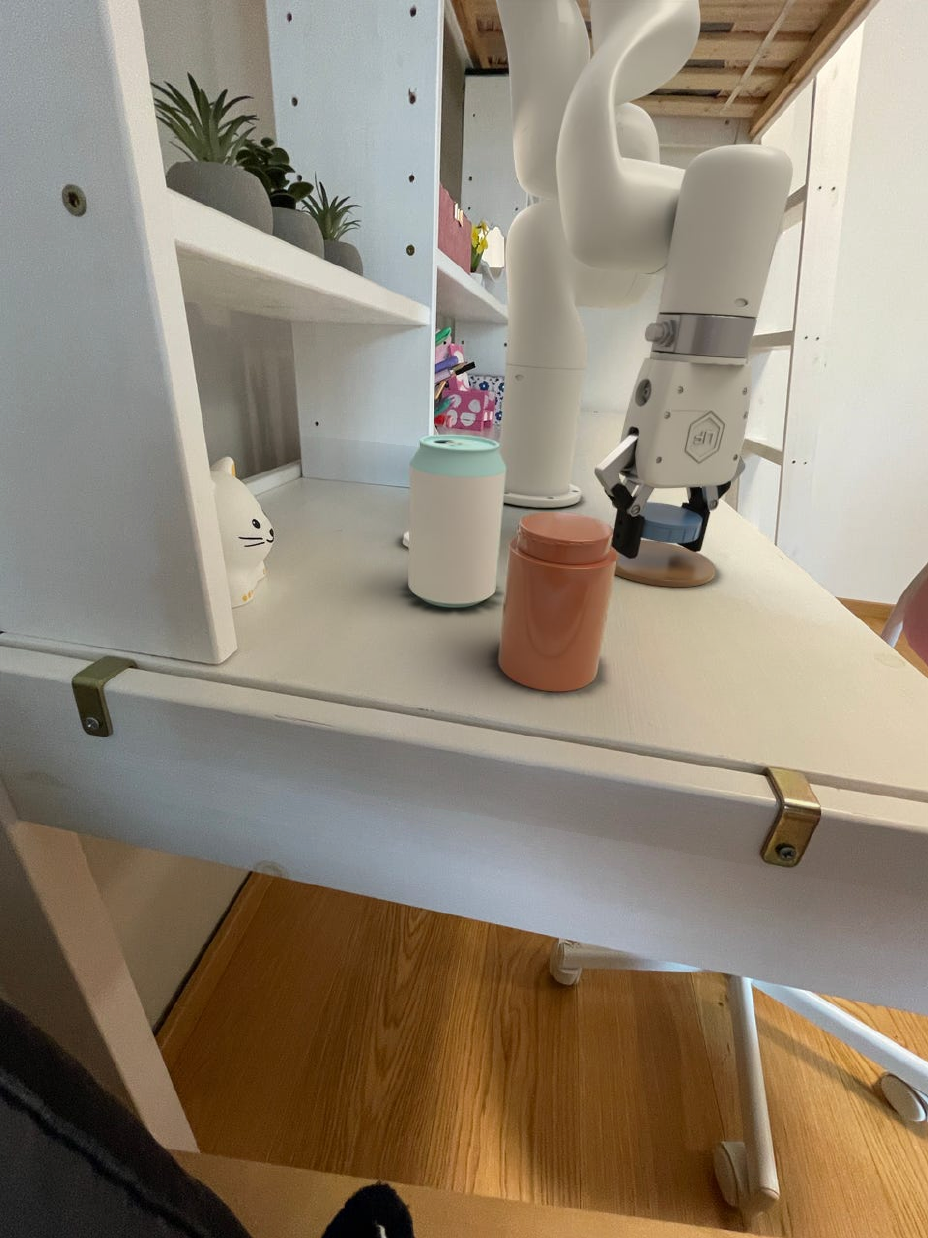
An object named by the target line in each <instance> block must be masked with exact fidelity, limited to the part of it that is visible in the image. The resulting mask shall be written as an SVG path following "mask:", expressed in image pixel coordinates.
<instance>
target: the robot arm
mask: <svg viewBox="0 0 928 1238" xmlns="http://www.w3.org/2000/svg"><path fill="white" fill-rule="evenodd" d="M495 2H496V7H497V12H498V16H499V20H500V25H501V29H502V32H503V38H504V42H505V48H506V52H507V60H508V75H509V94H510V95H509V97H510V113H511V114H510V115H511V131H512V133H511V134H512V145H513V146H512V148H513V160H514V169H515V175H516V178H517V181H518V183H519V186H520V188H521V189H522V190H523V191H524V192H525V193H527V194H528V195H530V196H533V197H534V198H538V199H542V200H546V201H539V202H536V203H533V204H530V205H528V206H526V207H525V208H524V209H522V210H521V211H520V212H518V213H517V215H516V216H515V218H514V219H513V221H512V223H511V225H510V227H509V229H508V233H507V236H506V241H505V254H504V256H505V258H504V259H505V274H506V287H507V288H506V289H507V314H508V315H507V339H506V341H507V342H506V352H505V353H506V354H505V370H504V381H503V382H504V383H503V393H502V394H503V395H502V406H501V420H500V430H499V431H500V432H499V442H498V443H499V450H498V452H499V454H500V456H501V458H502V460H503V462H504V464H505V465H506V478H505V489H504V501H503V504H508V505H513V506H519V507H520V506H521V507H526V508H527V507H528V508H540V509H541V508H542V509H543V508H545V509H547V508H549V509H550V508H551V509H552V508H553V509H554V508H564V507H570V506H573V505H576V504H577V503H579V502H580V501H581V497H582V491H581V489H580V488H579V487H578V486H577V485H574V484H573V483H571V481H572V475H573V474H572V473H573V467H574V466H573V465H574V458H575V452H576V445H577V444H576V443H577V436H578V430H579V423H580V422H579V421H580V414H581V409H582V408H581V407H582V400H583V393H584V386H585V378H586V371H587V362H588V354H589V353H588V339H587V335H586V331H585V328H584V326H583V323H582V320H581V318H580V315H579V312H578V309H577V308H578V307H585V308H586V307H587V308H599V309H610V310H611V309H612V310H623V309H628V308H631V307H634V306H637V305H638V304H639V303H641V302H642V301H643V300H645V298H646V296H647V295H648V293H649V292H650V291H651V289H652V287H653V285H654V282H655V280H656V278H657V276H660V277H661V276H662V277H664V278H663V283H662V286H661V287H662V288H661V293H660V301H659V304H658V310H657V315H656V320H655V322H650V323H648V325H647V326H646V328H645V330H644V338H645V340H646V342H649V343H651V346H650V353H649V357H644V359H643V361H642V364H641V366H640V368H639V371H638V374H637V377H636V380H635V383H634V386H633V389H632V392H631V396H630V399H629V403H628V406H627V410H626V413H625V418H624V422H623V427H622V431H621V436H620V441H619V444H618V445H617V446H616V447H615V448H614V449H613V450H611V452H610V453H609V454H608V455H606V456H605V457H604V458H603V459H602V460H601V461H600V462H599V463H598V464H597V465H596V466H595V468H594V470H593V471H594V475H595V477H596V478H597V480H598V481H599V483H600V484H601V486H602V487H603V490H604V493H605V494H606V496H607V497H608V498H609V500H610V501H611V505H612V507H613V508H614V509H616V514H615V519H614V525H613V538H612V545H611V546H612V547H613V548H614V549H615V550H616V551H617V552H618V553H620V554H622V555H624V556H625V557H627V558H629V559H633V558H636V557H637V556H638V552H639V547H640V542H641V540H642V538H641V537H642V532H643V527H644V522H645V517H644V516H642V515H640V512H641V511H642V509H643V507H644V505H645V504H646V502H648V500H649V499H650V497H651V495H652V494H653V491H654V490H655V489H681V488H686V496H687V501H688V502H682V503H681V506H680V507H683V508H686V509H688V510H691V511H693V512H695V513H697V514H699V515H700V516H701V517H702V523H701V526H702V527H701V531H700V534H699V537H698V538H697V539H696V540H695V541H692V542H688V543H675V545H677V546H680V547H683V548H686V549H688V550H691V551H693V552H697V553H699V552H700V551H701V550H702V547H703V543H704V540H705V535H706V532H707V528H708V525H709V524H708V523H709V520H710V517H711V512H713V511H715V510H716V509H717V508H718V506H719V503H720V500H721V498H722V497H723V496H725V494H726V493H727V492H728V491H729V490H730V488H731V485H732V484H733V483H734V482H735V481H736V480H737V479H738V478H739V477H740V476H741V475H742V473H744V471H745V469H746V463H745V461H744V460H743V458H742V456H741V453H742V449H743V444H744V441H745V435H746V429H747V424H748V419H749V413H750V404H751V398H752V397H751V396H752V386H753V364H750V363H747V360H748V357H749V353H750V350H751V346H752V343H753V337H754V333H755V329H756V324H757V322H758V320H757V319H758V317H759V314H760V313H759V312H760V308H761V306H762V305H761V304H762V301H763V296H764V294H765V293H764V292H765V288H766V285H767V281H768V277H769V274H770V269H771V264H772V261H773V256H774V253H775V249H776V245H777V241H778V237H779V233H780V229H781V227H782V226H781V225H782V221H783V217H784V214H785V209H786V205H787V201H788V199H789V194H790V190H791V185H792V180H793V175H794V173H793V172H794V171H793V170H794V168H793V162H792V160H791V157H790V156H789V155H788V154H787V153H786V152H785V151H783V150H782V149H779V148H777V147H774V146H771V145H766V144H765V145H764V144H755V143H753V144H751V143H750V144H749V143H748V144H747V143H746V144H745V143H743V144H742V143H741V144H740V143H739V144H729V145H723V146H717V147H714V148H711V149H708V150H705V151H703V152H701V153H699V154H698V155H696V156H695V157H694V158H693V159H692V160H691V162H690V163H689V164H688V165H687V167H686V169H684V168H679V167H676V166H672V165H667V164H661V157H660V154H661V153H660V141H659V136H658V132H657V128H656V126H655V123H654V121H653V120H652V118H651V116H650V115H649V113H647V112H646V110H644V108H642V107H640V106H639V105H636V104H634V103H631V102H632V101H635V100H638V99H640V98H642V97H645V96H647V95H649V94H651V93H653V92H654V91H656V90H658V89H660V88H661V87H663V86H664V85H665V84H667V83H668V82H669V81H671V80H672V79H673V78H674V77H676V75H677V74H678V73H679V72H680V71H681V69H683V68H684V66H685V65H686V63H687V62H688V61H689V59H690V57H691V55H692V54H693V52H694V50H695V48H696V45H697V42H698V39H699V34H700V30H701V29H700V28H701V11H700V2H699V0H588V7H589V8H588V9H589V17H590V26H591V28H590V29H591V40H592V47H593V55H592V57H591V43H590V38H589V32H588V29H587V25H586V22H585V20H584V16H583V14H582V10H581V9H580V6H579V4H578V2H577V0H495ZM620 475H621V476H623V477H624V479H623V481H621V478H620ZM636 488H637V489H636ZM635 489H636V490H635ZM634 491H635V492H634ZM633 493H634V494H633ZM632 494H633V495H632Z"/></svg>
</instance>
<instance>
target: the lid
mask: <svg viewBox="0 0 928 1238" xmlns="http://www.w3.org/2000/svg"><path fill="white" fill-rule="evenodd" d="M640 515H642V516H644V517H645V522H644V527H643V532H642V537H641V539H644V540H649V541H657V542H663V543H668V544H676V543H688V542H692V541H695V540H696V539H697V538H698V537H699V534H700V531H701V527H702V526H701V523H702V517H701V516H700V515H699V514H697V513H695V512H693V511H691V510H688V509H686V508H683V507H681V506H678V505H676V504H675V505H674V504H670V503H663V502H653V501H652V502H651V501H647V502H646V504H645V505H644V507H643V509H642V511H641V512H640Z"/></svg>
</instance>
